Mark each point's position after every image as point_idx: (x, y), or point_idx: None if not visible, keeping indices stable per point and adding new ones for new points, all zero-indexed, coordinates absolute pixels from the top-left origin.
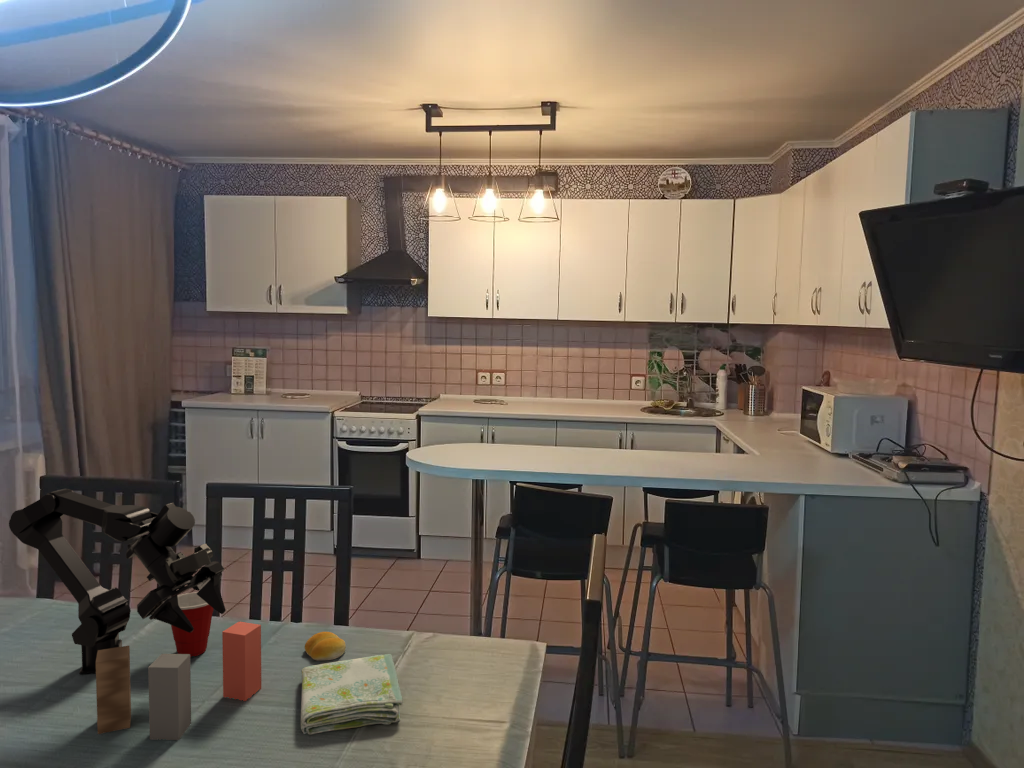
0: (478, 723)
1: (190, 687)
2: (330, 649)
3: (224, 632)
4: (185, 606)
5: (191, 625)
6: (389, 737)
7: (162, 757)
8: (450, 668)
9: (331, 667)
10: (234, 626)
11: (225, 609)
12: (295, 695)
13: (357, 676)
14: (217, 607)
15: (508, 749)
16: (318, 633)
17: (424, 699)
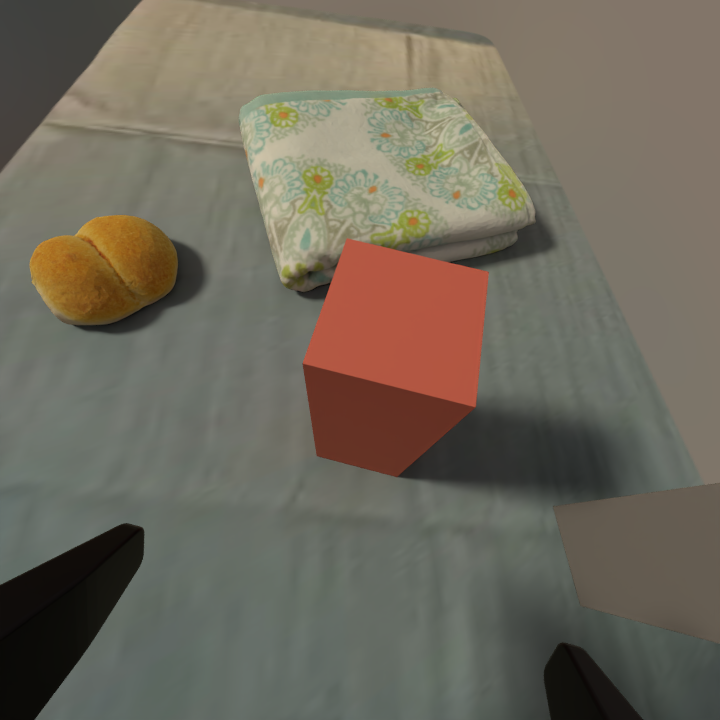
0: (418, 56)
1: (643, 494)
2: (160, 235)
3: (476, 392)
4: None
5: (596, 683)
6: None
7: None
8: (242, 76)
9: (317, 193)
10: (384, 363)
11: (116, 527)
12: None
13: (355, 147)
14: (79, 630)
15: (471, 39)
16: (57, 264)
17: None
